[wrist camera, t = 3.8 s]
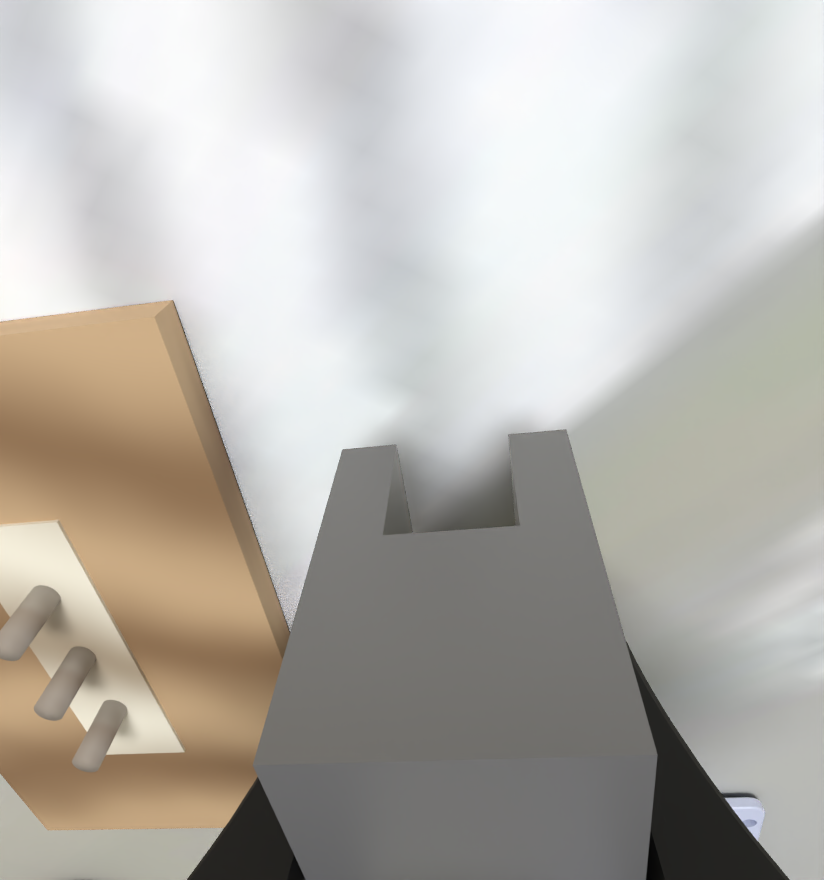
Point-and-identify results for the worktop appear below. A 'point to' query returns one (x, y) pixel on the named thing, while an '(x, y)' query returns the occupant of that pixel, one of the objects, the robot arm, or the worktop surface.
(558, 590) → the block
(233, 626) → the pin board
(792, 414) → the worktop surface
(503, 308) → the worktop surface
